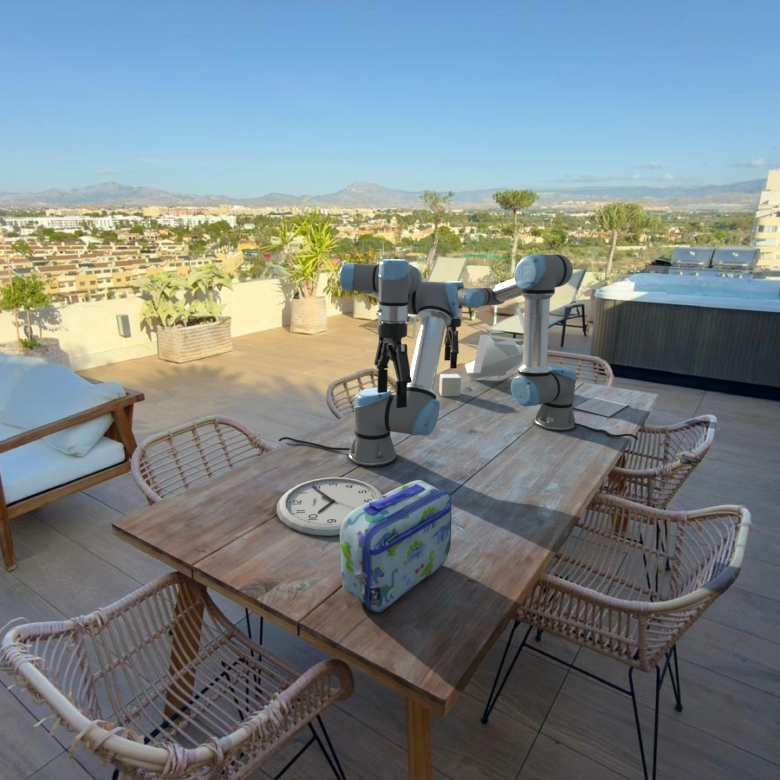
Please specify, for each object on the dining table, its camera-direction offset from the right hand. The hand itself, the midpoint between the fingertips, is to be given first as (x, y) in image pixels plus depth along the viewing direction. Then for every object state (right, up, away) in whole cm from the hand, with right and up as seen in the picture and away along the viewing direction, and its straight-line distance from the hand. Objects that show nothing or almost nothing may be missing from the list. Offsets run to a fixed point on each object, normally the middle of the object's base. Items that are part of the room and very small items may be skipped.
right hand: (450, 364), depth 235 cm
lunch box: (-25, -53, -123) cm, 136 cm away
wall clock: (-43, -43, -92) cm, 110 cm away
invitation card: (+64, -19, -9) cm, 68 cm away
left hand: (-27, -14, -94) cm, 99 cm away
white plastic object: (+29, -10, +19) cm, 36 cm away
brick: (0, -13, +5) cm, 14 cm away
